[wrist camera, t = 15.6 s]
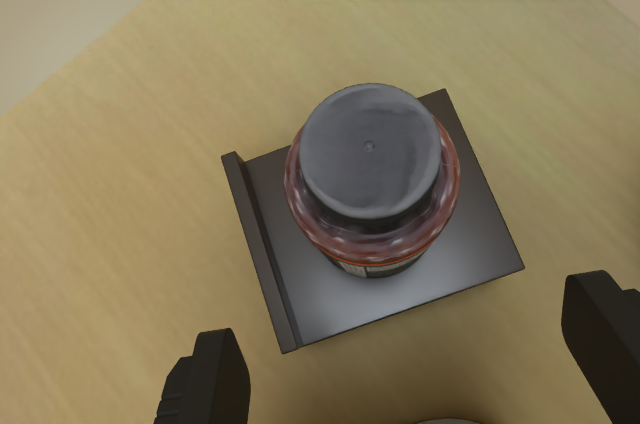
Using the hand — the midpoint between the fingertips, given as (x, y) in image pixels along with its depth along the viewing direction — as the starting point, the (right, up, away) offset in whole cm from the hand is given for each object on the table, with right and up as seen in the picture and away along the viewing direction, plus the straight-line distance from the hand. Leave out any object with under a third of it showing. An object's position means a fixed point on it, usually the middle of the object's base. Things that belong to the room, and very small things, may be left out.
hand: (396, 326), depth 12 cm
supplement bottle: (+1, +2, +13) cm, 13 cm away
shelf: (+1, +1, +18) cm, 19 cm away
